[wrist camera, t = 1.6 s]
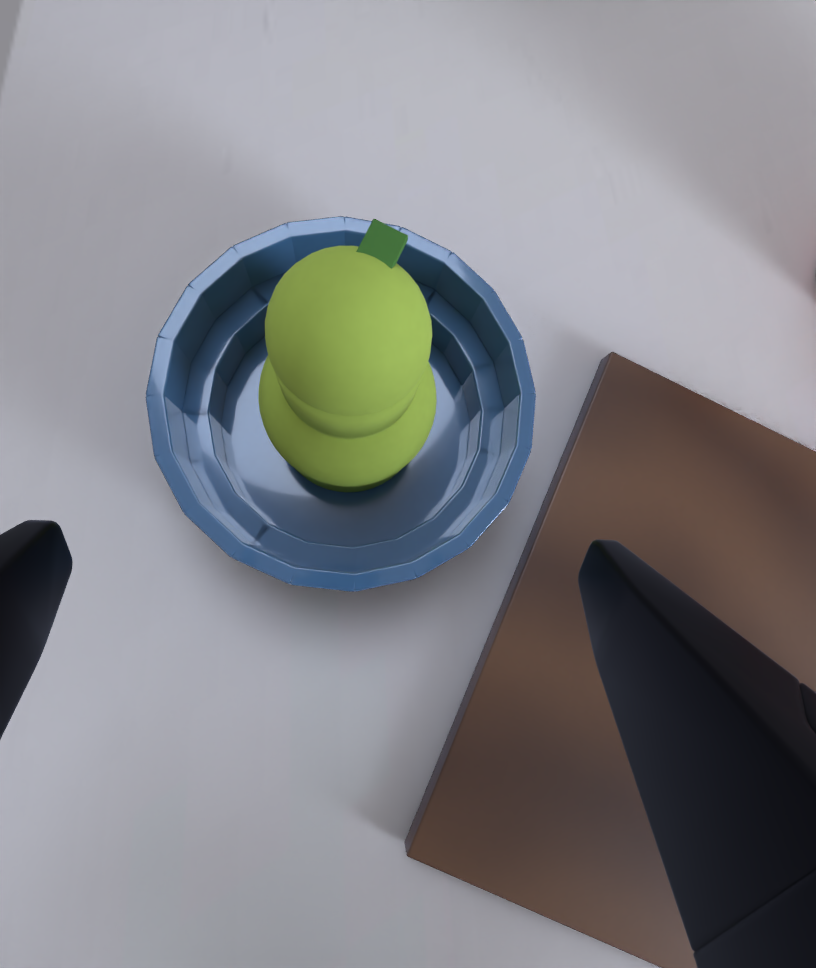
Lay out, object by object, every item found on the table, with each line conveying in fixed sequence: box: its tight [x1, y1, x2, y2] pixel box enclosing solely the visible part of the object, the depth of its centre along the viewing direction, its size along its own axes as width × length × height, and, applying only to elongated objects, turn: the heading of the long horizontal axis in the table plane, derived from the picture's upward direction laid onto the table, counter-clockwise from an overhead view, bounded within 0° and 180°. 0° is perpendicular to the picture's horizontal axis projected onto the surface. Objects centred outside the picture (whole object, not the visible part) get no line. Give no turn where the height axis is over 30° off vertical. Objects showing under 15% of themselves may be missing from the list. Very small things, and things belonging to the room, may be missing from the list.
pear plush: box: [258, 219, 437, 492], centre depth 17 cm, size 6×6×11 cm
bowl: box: [146, 216, 536, 592], centre depth 20 cm, size 13×13×4 cm
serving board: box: [405, 352, 816, 968], centre depth 22 cm, size 22×16×1 cm
